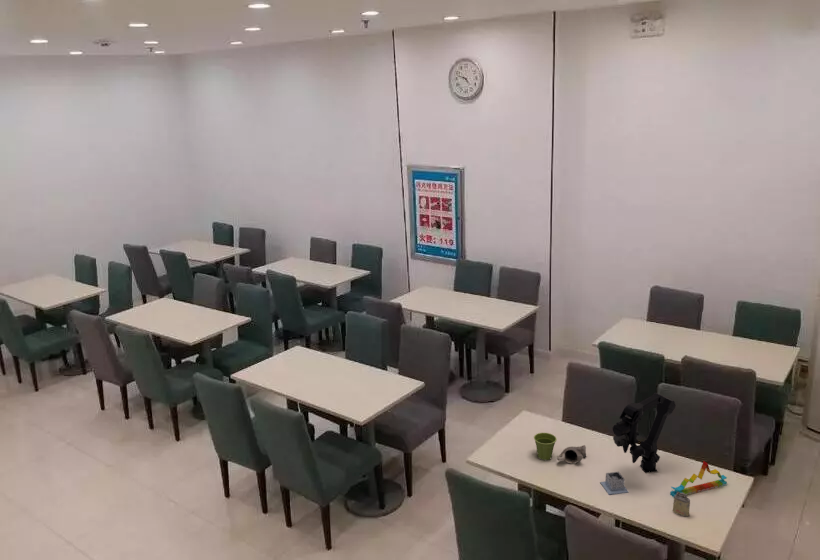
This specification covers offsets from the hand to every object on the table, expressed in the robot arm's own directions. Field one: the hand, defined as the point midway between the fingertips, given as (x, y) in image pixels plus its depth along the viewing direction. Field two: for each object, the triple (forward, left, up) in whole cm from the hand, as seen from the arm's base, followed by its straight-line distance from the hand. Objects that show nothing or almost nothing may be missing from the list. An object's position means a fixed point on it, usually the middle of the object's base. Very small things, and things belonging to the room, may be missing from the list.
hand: (629, 457), depth 321 cm
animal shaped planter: (+20, -21, -12) cm, 32 cm away
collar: (+10, +6, -11) cm, 16 cm away
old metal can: (-11, +30, -12) cm, 34 cm away
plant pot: (+34, -27, -12) cm, 45 cm away
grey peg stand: (+10, +6, -12) cm, 17 cm away
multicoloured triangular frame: (-29, +15, -12) cm, 35 cm away
